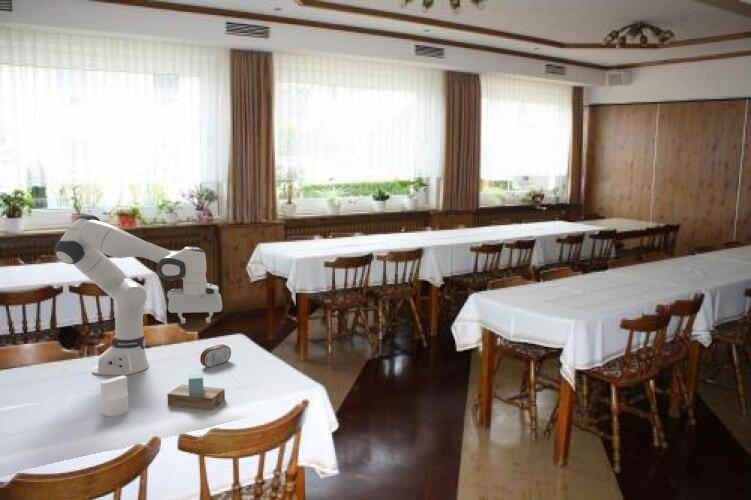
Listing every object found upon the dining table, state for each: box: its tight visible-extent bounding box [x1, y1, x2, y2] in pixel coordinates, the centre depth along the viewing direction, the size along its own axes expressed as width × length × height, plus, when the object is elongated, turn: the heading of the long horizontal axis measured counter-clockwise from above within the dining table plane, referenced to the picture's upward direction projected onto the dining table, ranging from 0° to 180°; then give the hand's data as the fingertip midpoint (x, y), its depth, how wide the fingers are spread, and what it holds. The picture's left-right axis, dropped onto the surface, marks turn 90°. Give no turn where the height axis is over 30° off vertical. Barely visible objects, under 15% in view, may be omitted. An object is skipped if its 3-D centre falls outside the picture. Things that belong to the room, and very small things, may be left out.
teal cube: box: [188, 372, 204, 394], centre depth 234 cm, size 5×5×6 cm
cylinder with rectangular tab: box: [99, 375, 130, 417], centre depth 227 cm, size 9×9×12 cm
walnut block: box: [167, 383, 226, 411], centre depth 235 cm, size 10×18×5 cm, turn 76°
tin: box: [199, 344, 232, 368], centre depth 277 cm, size 15×3×8 cm, turn 141°
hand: (195, 323), depth 246 cm, fingers open, 8 cm apart
